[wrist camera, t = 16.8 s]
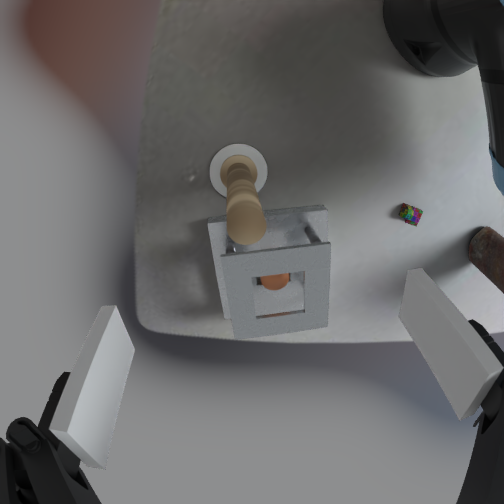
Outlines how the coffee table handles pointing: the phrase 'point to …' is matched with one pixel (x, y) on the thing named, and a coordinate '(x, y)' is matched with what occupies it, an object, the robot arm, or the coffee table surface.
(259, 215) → the turned wooden spindle
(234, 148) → the coaster
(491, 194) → the coffee table surface
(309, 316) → the grey square frame
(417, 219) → the multicolour small angular block
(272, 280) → the breaker button
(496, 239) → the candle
